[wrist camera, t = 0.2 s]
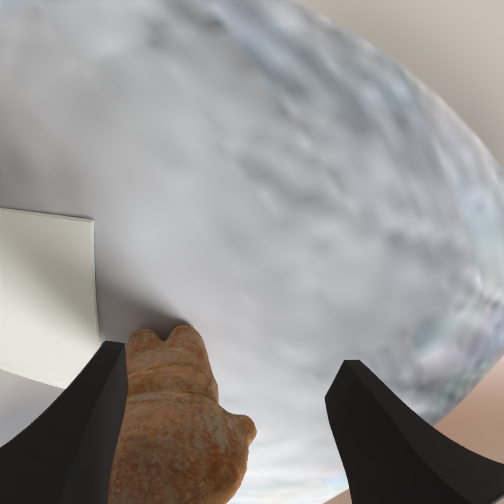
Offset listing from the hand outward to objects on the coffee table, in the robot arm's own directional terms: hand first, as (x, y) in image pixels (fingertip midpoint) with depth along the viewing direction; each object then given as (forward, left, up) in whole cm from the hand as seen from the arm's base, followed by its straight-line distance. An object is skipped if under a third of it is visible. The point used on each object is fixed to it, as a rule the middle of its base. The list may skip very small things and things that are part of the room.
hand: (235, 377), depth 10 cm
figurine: (-6, +2, -10) cm, 12 cm away
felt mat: (-7, +15, -10) cm, 20 cm away
